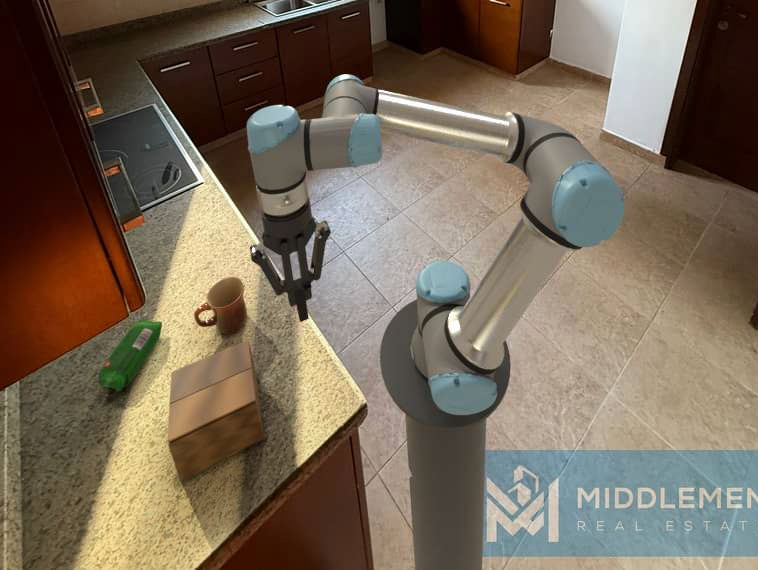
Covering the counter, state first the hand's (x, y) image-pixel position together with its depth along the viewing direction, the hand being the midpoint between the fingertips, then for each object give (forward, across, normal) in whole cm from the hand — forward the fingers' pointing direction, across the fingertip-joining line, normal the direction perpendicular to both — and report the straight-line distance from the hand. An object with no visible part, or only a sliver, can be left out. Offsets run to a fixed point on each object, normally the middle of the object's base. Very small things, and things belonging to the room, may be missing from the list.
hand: (302, 313), depth 74 cm
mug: (+33, -16, +33) cm, 49 cm away
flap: (+21, -18, +8) cm, 29 cm away
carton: (+32, -18, +11) cm, 39 cm away
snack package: (+33, -36, +34) cm, 59 cm away
